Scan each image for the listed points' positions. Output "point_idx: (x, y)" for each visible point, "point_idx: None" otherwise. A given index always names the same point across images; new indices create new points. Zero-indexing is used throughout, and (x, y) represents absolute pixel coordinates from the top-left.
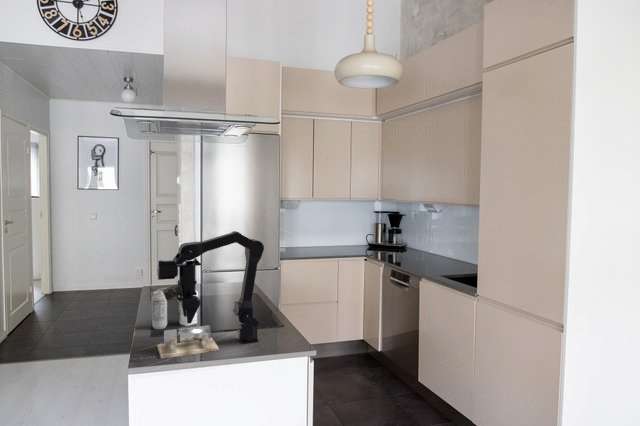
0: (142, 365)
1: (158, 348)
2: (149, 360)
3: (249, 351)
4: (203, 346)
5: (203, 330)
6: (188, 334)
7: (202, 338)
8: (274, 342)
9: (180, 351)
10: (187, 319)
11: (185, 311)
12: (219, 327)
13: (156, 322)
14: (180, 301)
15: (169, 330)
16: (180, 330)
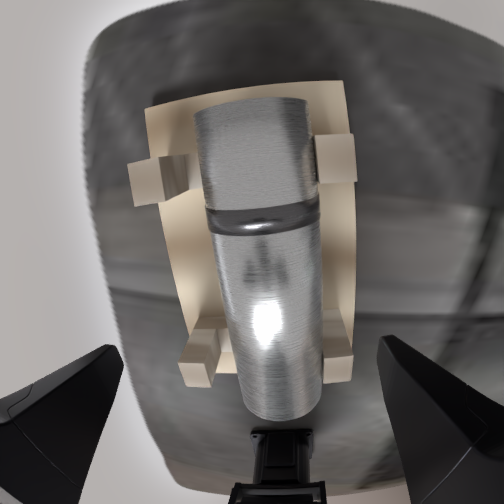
0: (101, 50)
1: (286, 84)
2: (145, 61)
3: (178, 426)
4: (197, 326)
5: (242, 382)
6: (220, 290)
7: (189, 349)
8: (241, 473)
9: (181, 209)
10: (71, 362)
11: (397, 387)
12: (466, 376)
13: None
14: (499, 464)
15: (244, 144)
16: (235, 245)
